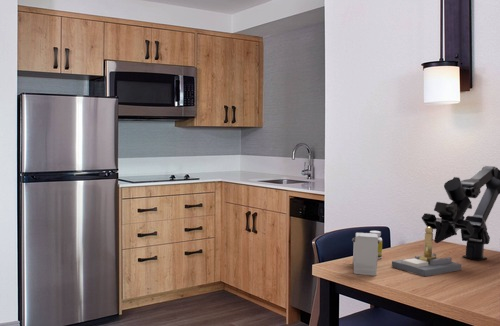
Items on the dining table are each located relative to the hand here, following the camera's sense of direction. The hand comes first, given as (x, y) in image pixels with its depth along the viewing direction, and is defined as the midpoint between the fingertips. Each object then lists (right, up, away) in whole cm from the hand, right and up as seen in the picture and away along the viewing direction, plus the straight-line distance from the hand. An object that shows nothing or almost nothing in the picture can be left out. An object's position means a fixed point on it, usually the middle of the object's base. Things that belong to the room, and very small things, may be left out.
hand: (435, 242), depth 190 cm
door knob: (-3, -6, -2) cm, 8 cm away
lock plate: (-4, -9, -2) cm, 10 cm away
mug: (-25, -8, +1) cm, 26 cm away
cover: (-9, -7, -5) cm, 12 cm away
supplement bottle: (-19, -8, +12) cm, 24 cm away
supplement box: (-27, -9, -10) cm, 30 cm away
